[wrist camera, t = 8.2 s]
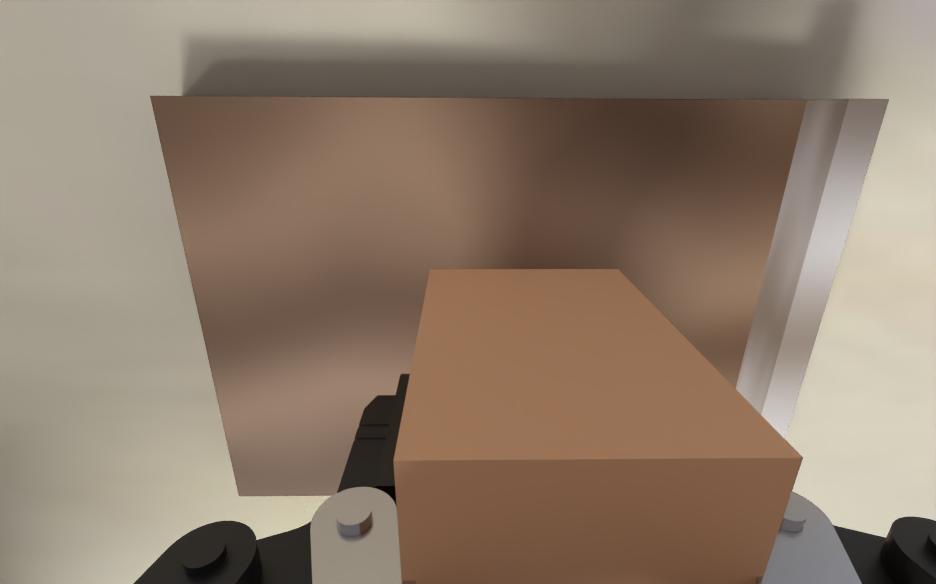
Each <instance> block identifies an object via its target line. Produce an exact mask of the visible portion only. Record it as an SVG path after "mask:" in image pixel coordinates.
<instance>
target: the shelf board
mask: <svg viewBox="0 0 936 584" xmlns="http://www.w3.org/2000/svg"><path fill="white" fill-rule="evenodd" d="M150 97H151V102H152V106H153V111H154V115H155V120H156V124H157V129H158V133H159V138H160V142H161V147H162V151H163V156H164V160H165V165H166V169H167V174H168V178H169V183H170V187H171V192H172V196H173V201H174V205H175V210H176V214H177V219H178V223H179V228H180V232H181V237H182V241H183V246H184V250H185V255H186V259H187V264H188V268H189V273H190V277H191V282H192V286H193V291H194V295H195V300H196V304H197V309H198V313H199V318H200V322H201V327H202V331H203V336H204V341H205V345H206V350H207V354H208V359H209V363H210V368H211V372H212V377H213V381H214V386H215V390H216V395H217V399H218V404H219V408H220V413H221V417H222V422H223V426H224V431H225V435H226V440H227V444H228V449H229V453H230V458H231V462H232V467H233V471H234V476H235V480H236V485H237V489H238V494H239V496H332V495H335V494H336V493H337V491H338V488H339V485H340V482H341V479H342V476H343V472H344V469H345V466H346V463H347V460H348V457H349V454H350V451H351V448H352V445H353V441H355V435H356V432H357V429H358V428H359V423H360V420H361V417H362V414H363V410H364V408H365V407H366V406H367V405H368V404H369V403H370V402H371V401H372V400H373V399H374V398H375V397H376V396H377V395H396V391H397V387H398V382H399V378H400V375H401V374H410V371H411V366H412V361H413V356H414V350H415V345H416V340H417V335H418V329H419V324H420V319H421V314H422V308H423V303H424V298H425V293H426V288H427V282H428V277H429V272H430V269H619V270H620V272H621V273H622V274H623V275H624V276H625V277H626V278H627V279H628V280H629V281H630V282H631V283H632V284H633V285H634V286H635V287H636V288H637V289H638V290H639V291H640V292H641V293H642V294H643V295H644V296H645V297H646V298H647V299H648V300H649V301H650V302H651V303H652V304H653V305H654V306H655V307H656V308H657V309H658V310H659V311H660V312H661V313H662V314H663V315H664V316H665V317H666V318H667V319H668V320H669V322H670V323H671V324H672V325H673V326H674V327H675V328H676V329H677V330H678V331H679V332H680V333H681V334H682V335H683V336H684V337H685V338H686V339H687V340H688V341H689V342H690V343H691V344H692V345H693V346H694V347H695V348H696V349H697V350H698V351H699V352H700V353H701V354H702V355H703V356H704V357H705V358H706V359H707V360H708V361H709V362H710V363H711V364H712V365H713V366H714V367H715V368H716V369H717V371H718V372H719V373H720V374H721V375H722V376H723V377H724V378H725V379H726V380H727V381H728V382H729V383H730V384H731V385H732V386H733V387H734V388H735V389H736V390H737V391H738V392H739V393H740V394H741V395H742V396H743V397H744V398H745V399H746V400H747V401H748V402H749V403H750V404H751V405H752V406H753V407H754V408H755V409H756V410H757V411H758V412H759V413H760V414H761V415H762V416H763V417H764V418H765V419H766V421H767V422H768V423H769V424H770V425H771V426H772V427H773V428H774V429H775V430H776V431H777V432H778V433H779V434H780V435H781V436H782V437H783V438H784V439H785V437H786V434H787V430H788V427H789V424H790V421H791V417H792V414H793V411H794V408H795V404H796V401H797V398H798V394H799V391H800V388H801V385H802V381H803V378H804V375H805V372H806V368H807V365H808V362H809V359H810V355H811V352H812V349H813V346H814V342H815V339H816V336H817V333H818V329H819V326H820V323H821V319H822V316H823V313H824V310H825V306H826V303H827V300H828V297H829V293H830V290H831V287H832V284H833V280H834V277H835V274H836V271H837V267H838V264H839V261H840V258H841V254H842V251H843V248H844V244H845V241H846V238H847V235H848V231H849V228H850V225H851V222H852V218H853V215H854V212H855V209H856V205H857V202H858V199H859V196H860V192H861V189H862V186H863V183H864V179H865V176H866V173H867V169H868V166H869V163H870V160H871V156H872V153H873V150H874V147H875V143H876V140H877V137H878V134H879V130H880V127H881V124H882V121H883V117H884V114H885V111H886V108H887V104H888V101H889V99H828V100H713V99H556V98H399V97H242V96H150Z"/></svg>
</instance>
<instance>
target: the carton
mask: <svg viewBox="0 0 936 584" xmlns="http://www.w3.org/2000/svg"><path fill="white" fill-rule="evenodd" d="M802 459H803V457H802V456H801V455H800V454H799V453H798V452H797V451H796V450H795V449H794V448H793V447H792V446H791V445H790V444H789V443H788V442H787V441H786V440H785V439H784V438H783V437H782V436H781V435H780V434H779V433H778V432H777V431H776V430H775V429H774V428H773V427H772V426H771V425H770V424H769V423H768V422H767V421H766V419H765V418H764V417H763V416H762V415H761V414H760V413H759V412H758V411H757V410H756V409H755V408H754V407H753V406H752V405H751V404H750V403H749V402H748V401H747V400H746V399H745V398H744V397H743V396H742V395H741V394H740V393H739V392H738V391H737V390H736V389H735V388H734V387H733V386H732V385H731V384H730V383H729V382H728V381H727V380H726V379H725V378H724V377H723V376H722V375H721V374H720V373H719V372H718V371H717V369H716V368H715V367H714V366H713V365H712V364H711V363H710V362H709V361H708V360H707V359H706V358H705V357H704V356H703V355H702V354H701V353H700V352H699V351H698V350H697V349H696V348H695V347H694V346H693V345H692V344H691V343H690V342H689V341H688V340H687V339H686V338H685V337H684V336H683V335H682V334H681V333H680V332H679V331H678V330H677V329H676V328H675V327H674V326H673V325H672V324H671V323H670V322H669V320H668V319H667V318H666V317H665V316H664V315H663V314H662V313H661V312H660V311H659V310H658V309H657V308H656V307H655V306H654V305H653V304H652V303H651V302H650V301H649V300H648V299H647V298H646V297H645V296H644V295H643V294H642V293H641V292H640V291H639V290H638V289H637V288H636V287H635V286H634V285H633V284H632V283H631V282H630V281H629V280H628V279H627V278H626V277H625V276H624V275H623V274H622V273H621V272H620V270H619V269H430V272H429V277H428V282H427V288H426V293H425V298H424V303H423V308H422V314H421V319H420V324H419V329H418V335H417V340H416V345H415V350H414V356H413V361H412V366H411V371H410V376H409V382H408V387H407V392H406V397H405V403H404V408H403V413H402V418H401V424H400V429H399V434H398V439H397V444H396V450H395V455H394V460H393V462H394V477H395V491H396V506H397V520H398V535H399V550H400V564H401V579H402V581H410V580H415V581H416V584H755V583H756V579H757V577H762V576H764V574H765V571H766V568H767V565H768V562H769V559H770V556H771V553H772V550H773V547H774V544H775V541H776V538H777V535H778V532H779V528H780V525H781V522H782V519H783V516H784V513H785V510H786V507H787V504H788V501H789V498H790V495H791V492H792V489H793V486H794V483H795V480H796V477H797V474H798V471H799V468H800V465H801V462H802Z"/></svg>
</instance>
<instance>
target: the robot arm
mask: <svg viewBox="0 0 936 584" xmlns="http://www.w3.org/2000/svg"><path fill="white" fill-rule="evenodd" d="M409 376H410V374H401V375H400V378H399V382H398V387H397V391H396V395H377V396H376V397H375V398H374V399H373V400H372V401H371V402H370V403H369V404H368V405H367V406H366V407H365V408H364V410H363V414H362V417H361V420H360V423H359V428H358V429H357V432H356V435H355V441H353V445H352V448H351V451H350V454H349V457H348V460H347V463H346V466H345V469H344V472H343V476H342V479H341V482H340V485H339V488H338V491H337V493H336V494H335V495H333V496H331V497H330V498H328V499H327V500H326V501H325V502H324V503H323V504H322V505H321V506H320V507H319V508H318V509H317V511H316V512H315V514H314V516H313V518H312V521H311V522H309V523H308V524H306V525H304V526H302V527H299V528H297V529H294V530H291V531H288V532H284V533H281V534H277V535H273V536H270V537H266V538H263V539H259V540H256V536H255V534H254V532H253V531H252V530H251V529H250V527H248V526H247V525H245V524H243V523H240V522H236V521H220V522H214V523H210V524H207V525H204V526H201V527H199V528H197V529H195V530H193V531H191V532H189V533H187V534H186V535H184V536H183V537H181V538H180V539H179V540H177V541H176V542H175V543H174V544H172V545H171V546H170V547H169V548H168V549H167V550H166V551H165V552H164V553H163V554H162V555H161V556H160V557H159V558H158V559H157V560H156V561H155V562H154V563H153V564H152V565H151V566H150V567H149V568H148V569H147V570H146V571H145V572H144V574H143V575H142V576H141V577H140V578H139V579H138V580H137V581H136V582H135V583H134V584H416V581H415V580H410V581H402V579H401V564H400V550H399V535H398V520H397V506H396V491H395V477H394V462H393V460H394V455H395V450H396V444H397V439H398V434H399V429H400V424H401V418H402V413H403V408H404V403H405V397H406V392H407V387H408V382H409ZM755 584H936V521H934V520H930V519H926V518H920V517H903V518H899V519H897V520H895V521H894V522H893V524H892V526H891V528H890V531H889V533H888V535H887V537H886V538H885V537H880V536H876V535H872V534H867V533H863V532H859V531H855V530H850V529H846V528H842V527H838V526H834V525H832V523H831V521H830V520H829V518H828V517H827V516H826V515H825V514H824V513H823V512H822V511H821V510H820V509H819V508H818V507H817V506H816V505H814V504H813V503H812V502H810V501H809V500H807V499H806V498H804V497H802V496H800V495H799V494H797V493H794V492H791V495H790V498H789V501H788V504H787V507H786V510H785V513H784V516H783V519H782V522H781V525H780V528H779V532H778V535H777V538H776V541H775V544H774V547H773V550H772V553H771V556H770V559H769V562H768V565H767V568H766V571H765V574H764V576H762V577H757V579H756V583H755Z"/></svg>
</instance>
